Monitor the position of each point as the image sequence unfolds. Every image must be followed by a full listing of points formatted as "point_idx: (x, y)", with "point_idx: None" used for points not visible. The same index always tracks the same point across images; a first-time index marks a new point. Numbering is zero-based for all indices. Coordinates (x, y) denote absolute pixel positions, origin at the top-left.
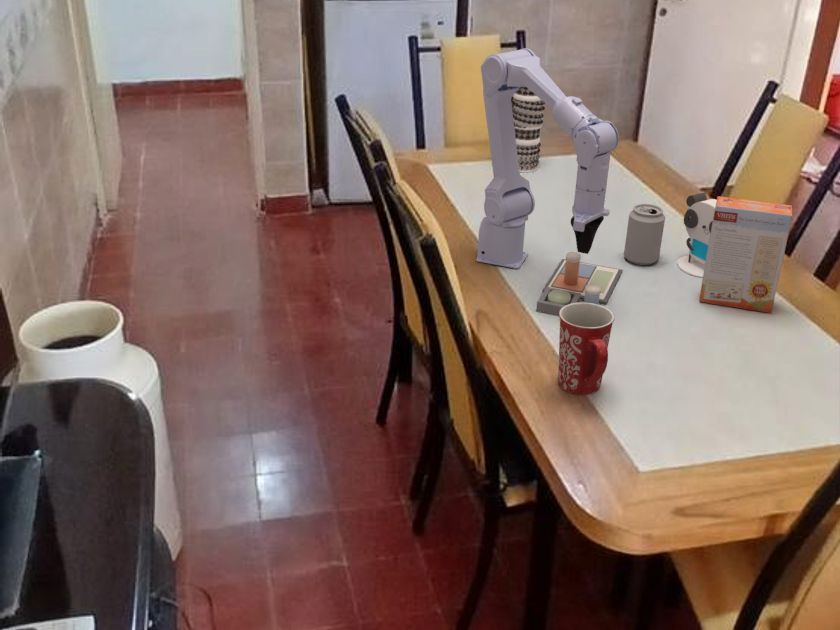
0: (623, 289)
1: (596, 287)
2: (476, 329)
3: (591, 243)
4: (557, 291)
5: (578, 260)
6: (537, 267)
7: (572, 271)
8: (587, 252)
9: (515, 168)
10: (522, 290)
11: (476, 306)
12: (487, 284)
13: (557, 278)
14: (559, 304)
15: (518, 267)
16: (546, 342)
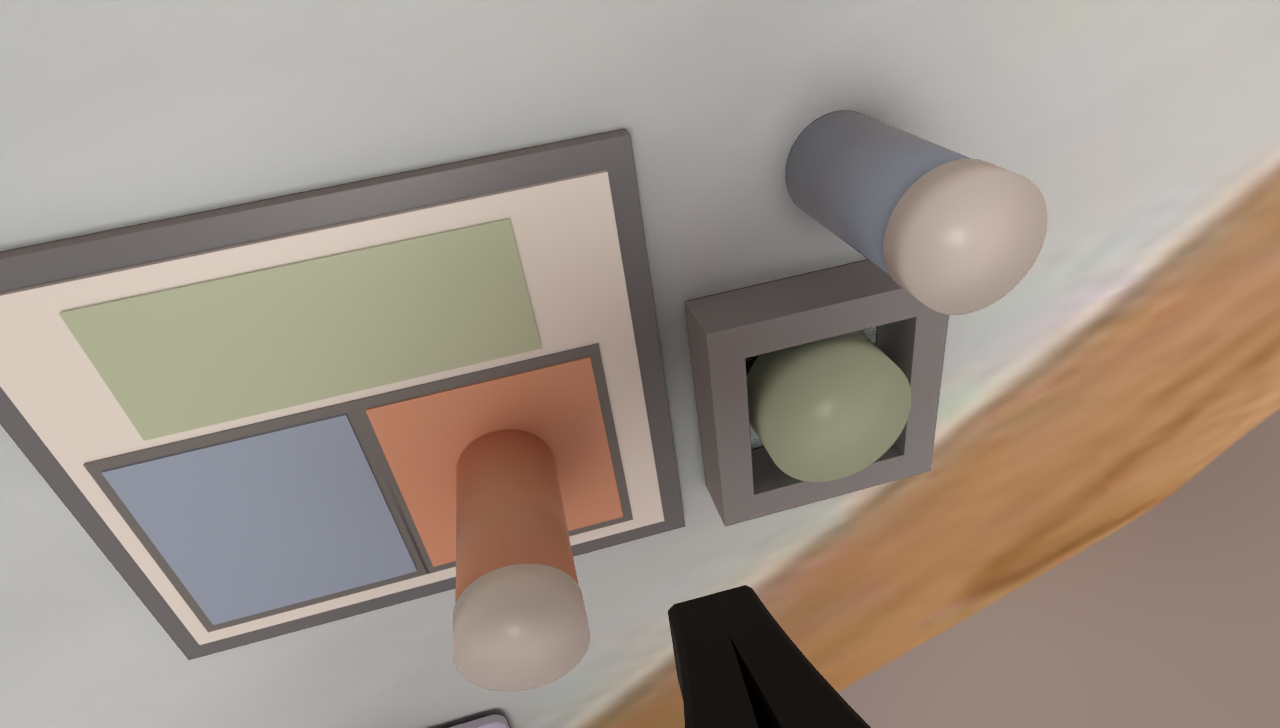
0: (240, 114)
1: (973, 220)
2: (1129, 519)
3: (807, 697)
4: (797, 453)
5: (541, 577)
6: (397, 674)
7: (563, 522)
8: (756, 601)
9: None
10: (707, 585)
11: (941, 617)
12: None
13: None
14: (919, 366)
15: (495, 719)
16: (1211, 234)
